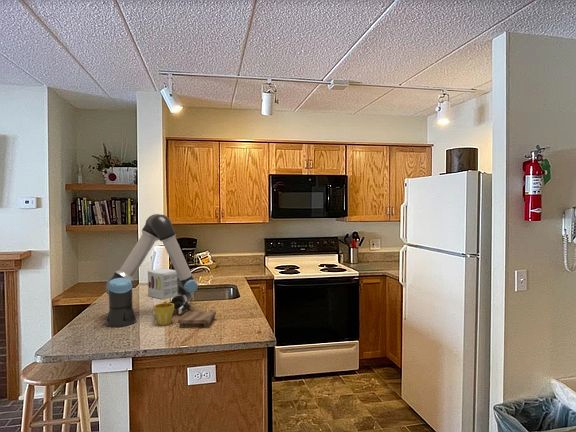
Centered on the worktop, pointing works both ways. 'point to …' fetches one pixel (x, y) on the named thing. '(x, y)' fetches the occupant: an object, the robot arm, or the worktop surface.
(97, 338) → the worktop surface
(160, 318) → the plant pot
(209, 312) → the walnut stand
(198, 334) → the worktop surface
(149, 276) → the supplement box
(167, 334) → the worktop surface
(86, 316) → the worktop surface
